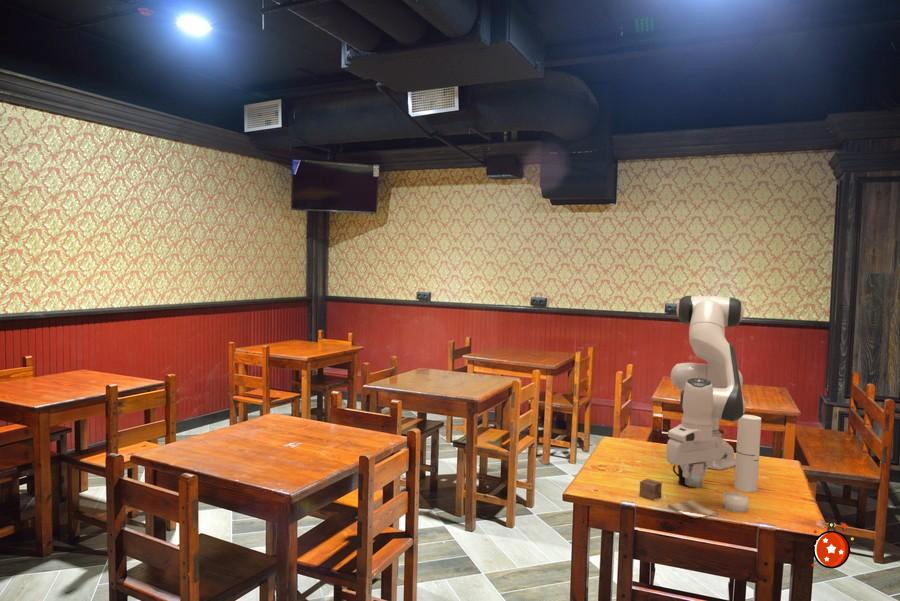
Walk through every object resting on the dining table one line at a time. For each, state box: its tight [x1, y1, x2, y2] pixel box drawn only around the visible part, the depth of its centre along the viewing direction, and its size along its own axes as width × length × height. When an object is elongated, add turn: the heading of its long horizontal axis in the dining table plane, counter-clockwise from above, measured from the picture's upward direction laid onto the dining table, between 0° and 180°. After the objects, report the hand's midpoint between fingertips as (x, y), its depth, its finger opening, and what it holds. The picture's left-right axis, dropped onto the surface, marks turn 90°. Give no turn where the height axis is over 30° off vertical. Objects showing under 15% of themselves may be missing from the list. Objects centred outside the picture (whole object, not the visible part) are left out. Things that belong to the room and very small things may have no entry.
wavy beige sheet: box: [667, 500, 718, 516], centre depth 187 cm, size 10×10×1 cm
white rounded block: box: [722, 491, 749, 514], centre depth 191 cm, size 7×7×4 cm
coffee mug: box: [672, 464, 697, 489], centre depth 211 cm, size 12×9×10 cm
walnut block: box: [638, 478, 663, 501], centre depth 198 cm, size 5×5×5 cm
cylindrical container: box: [733, 414, 762, 493], centre depth 209 cm, size 7×7×25 cm
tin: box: [685, 462, 704, 488], centre depth 187 cm, size 5×5×7 cm
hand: (694, 476), depth 187 cm, fingers closed on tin, 5 cm apart
